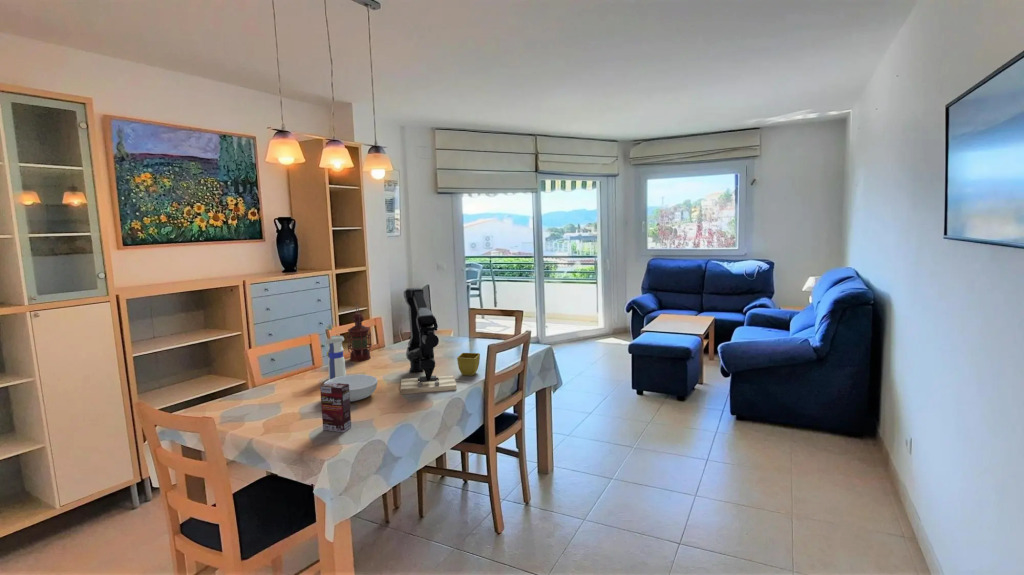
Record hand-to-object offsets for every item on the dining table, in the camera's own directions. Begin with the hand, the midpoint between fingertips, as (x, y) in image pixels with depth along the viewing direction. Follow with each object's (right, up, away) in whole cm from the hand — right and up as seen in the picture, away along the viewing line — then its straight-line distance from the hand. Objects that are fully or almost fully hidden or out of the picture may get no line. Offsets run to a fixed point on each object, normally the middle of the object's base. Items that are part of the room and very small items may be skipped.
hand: (428, 377), depth 225 cm
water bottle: (-44, -3, +11) cm, 45 cm away
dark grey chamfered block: (0, -3, 0) cm, 3 cm away
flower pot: (+17, -1, +14) cm, 22 cm away
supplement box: (-24, -10, -46) cm, 53 cm away
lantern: (-43, +2, +45) cm, 62 cm away
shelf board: (+1, -3, -3) cm, 4 cm away
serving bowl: (-29, -6, -15) cm, 33 cm away
